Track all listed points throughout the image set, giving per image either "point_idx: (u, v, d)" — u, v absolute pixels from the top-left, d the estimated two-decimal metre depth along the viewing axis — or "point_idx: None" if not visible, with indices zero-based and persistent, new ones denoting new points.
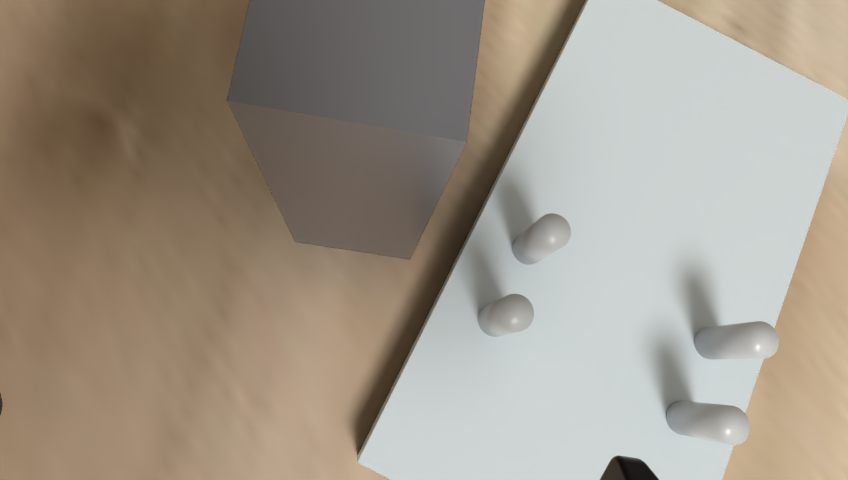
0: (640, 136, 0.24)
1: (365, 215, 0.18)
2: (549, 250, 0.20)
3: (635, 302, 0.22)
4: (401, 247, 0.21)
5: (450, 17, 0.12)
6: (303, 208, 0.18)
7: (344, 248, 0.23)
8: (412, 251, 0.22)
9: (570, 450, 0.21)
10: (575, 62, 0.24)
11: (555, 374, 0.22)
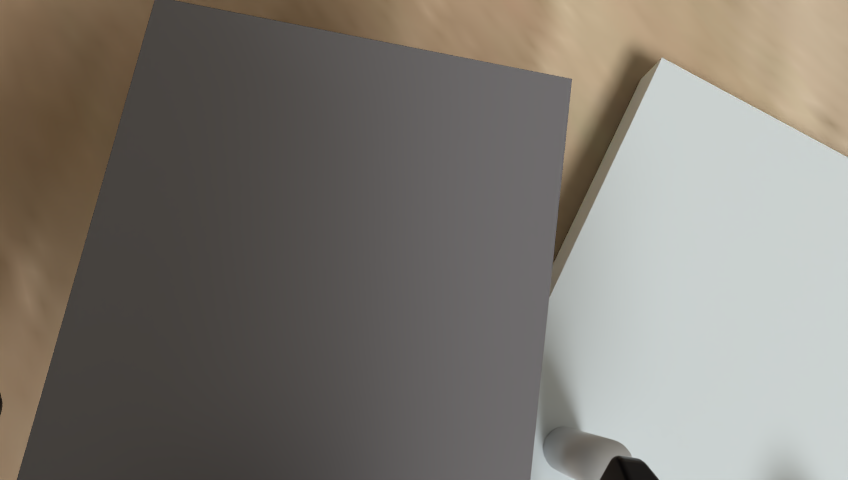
0: (714, 284, 0.18)
1: None
2: None
3: None
4: None
5: (480, 341, 0.06)
6: None
7: None
8: None
9: None
10: (627, 182, 0.18)
11: None
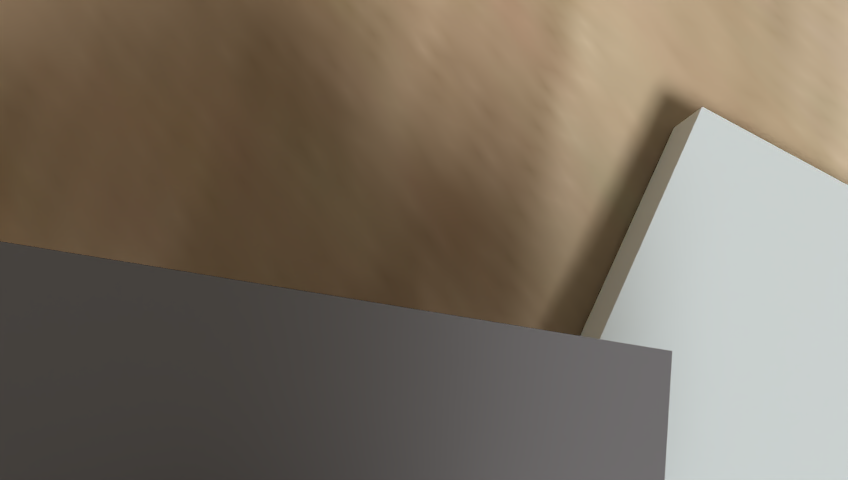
0: (767, 387, 0.15)
1: None
2: None
3: None
4: None
5: None
6: None
7: None
8: None
9: None
10: (662, 260, 0.15)
11: None
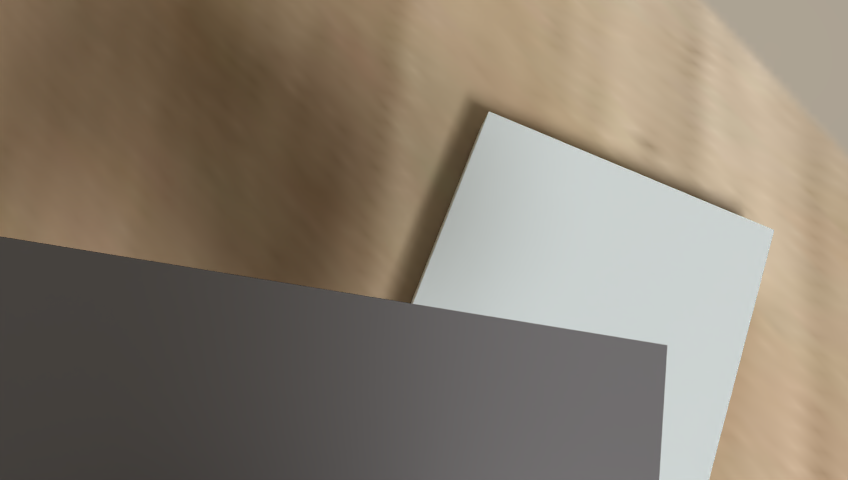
0: (541, 302, 0.22)
1: None
2: None
3: None
4: None
5: None
6: None
7: None
8: None
9: None
10: (464, 223, 0.22)
11: None
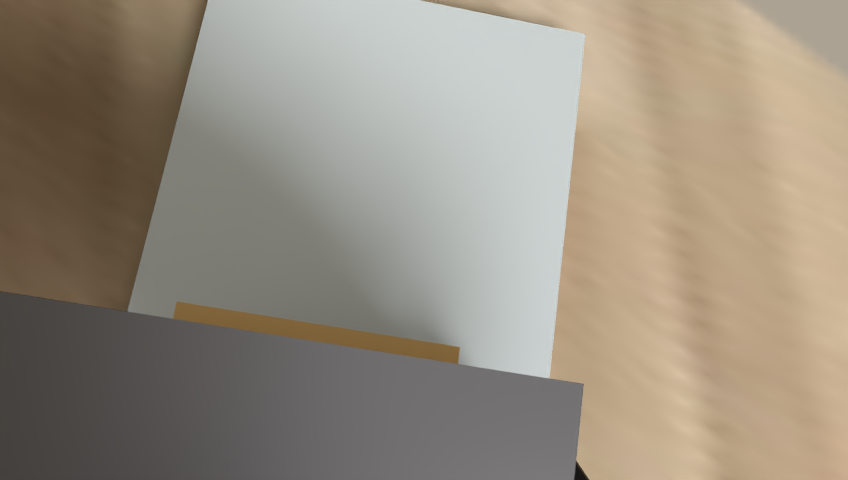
0: (318, 166, 0.18)
1: None
2: None
3: None
4: None
5: None
6: None
7: None
8: None
9: None
10: (207, 93, 0.18)
11: None
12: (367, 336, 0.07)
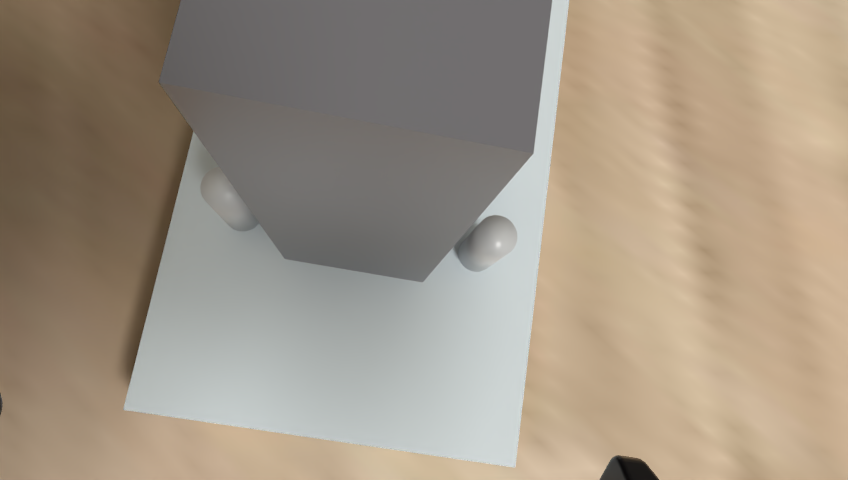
0: None
1: (370, 238, 0.14)
2: None
3: None
4: (413, 271, 0.17)
5: None
6: (292, 227, 0.14)
7: (344, 268, 0.19)
8: (426, 275, 0.18)
9: (363, 324, 0.19)
10: None
11: None
12: None
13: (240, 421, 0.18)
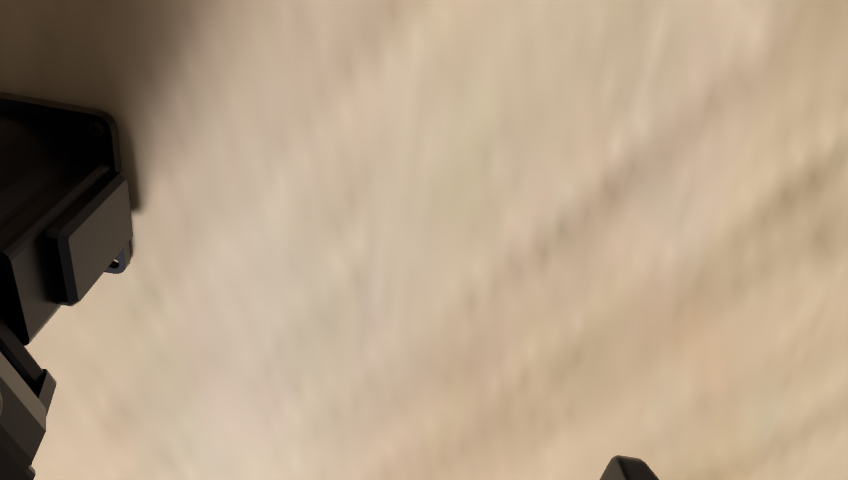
0: None
1: None
2: None
3: None
4: None
5: None
6: None
7: None
8: None
9: None
10: None
11: None
12: None
13: None
